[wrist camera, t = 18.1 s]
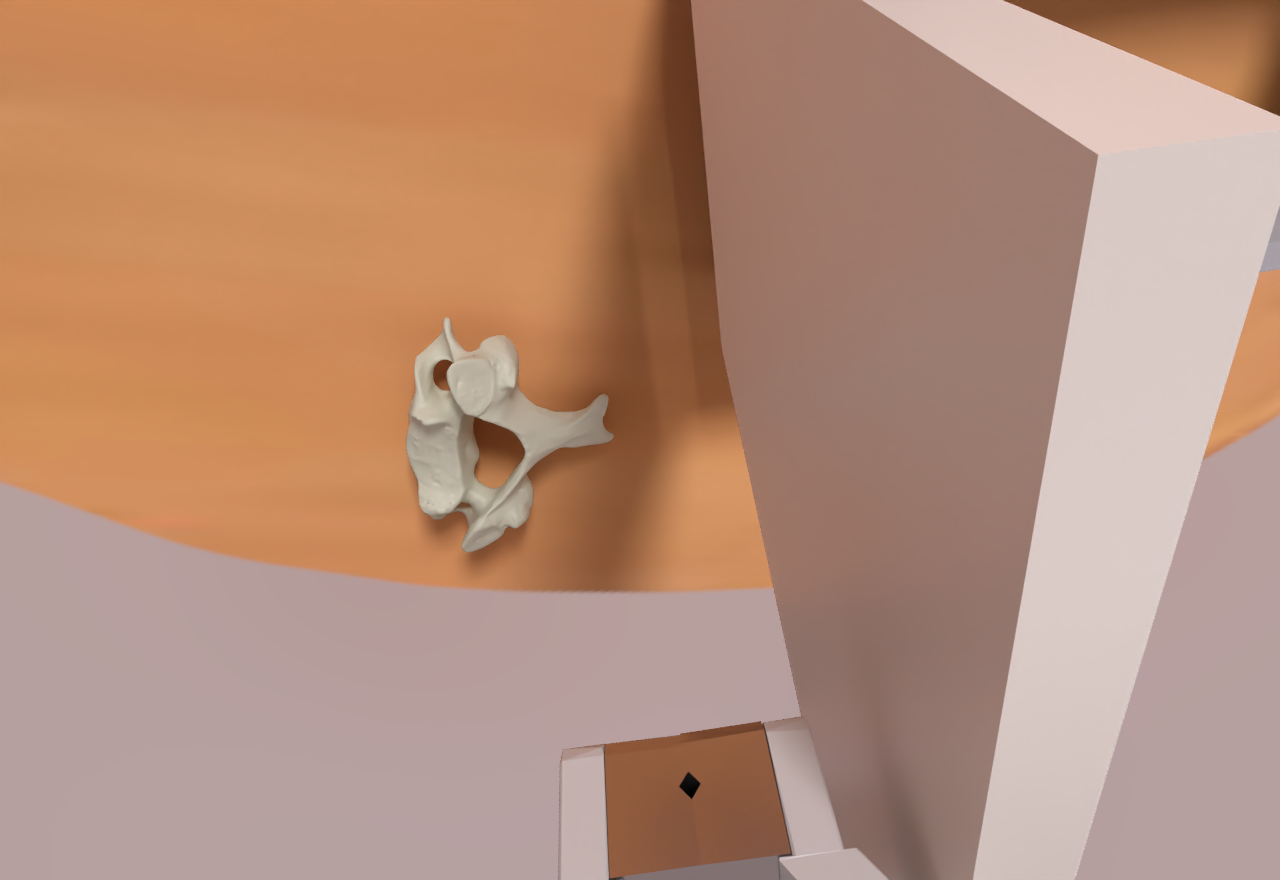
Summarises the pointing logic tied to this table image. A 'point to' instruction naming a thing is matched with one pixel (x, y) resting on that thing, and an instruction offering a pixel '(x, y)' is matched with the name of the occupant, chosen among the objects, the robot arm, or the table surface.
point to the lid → (970, 389)
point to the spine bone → (450, 446)
